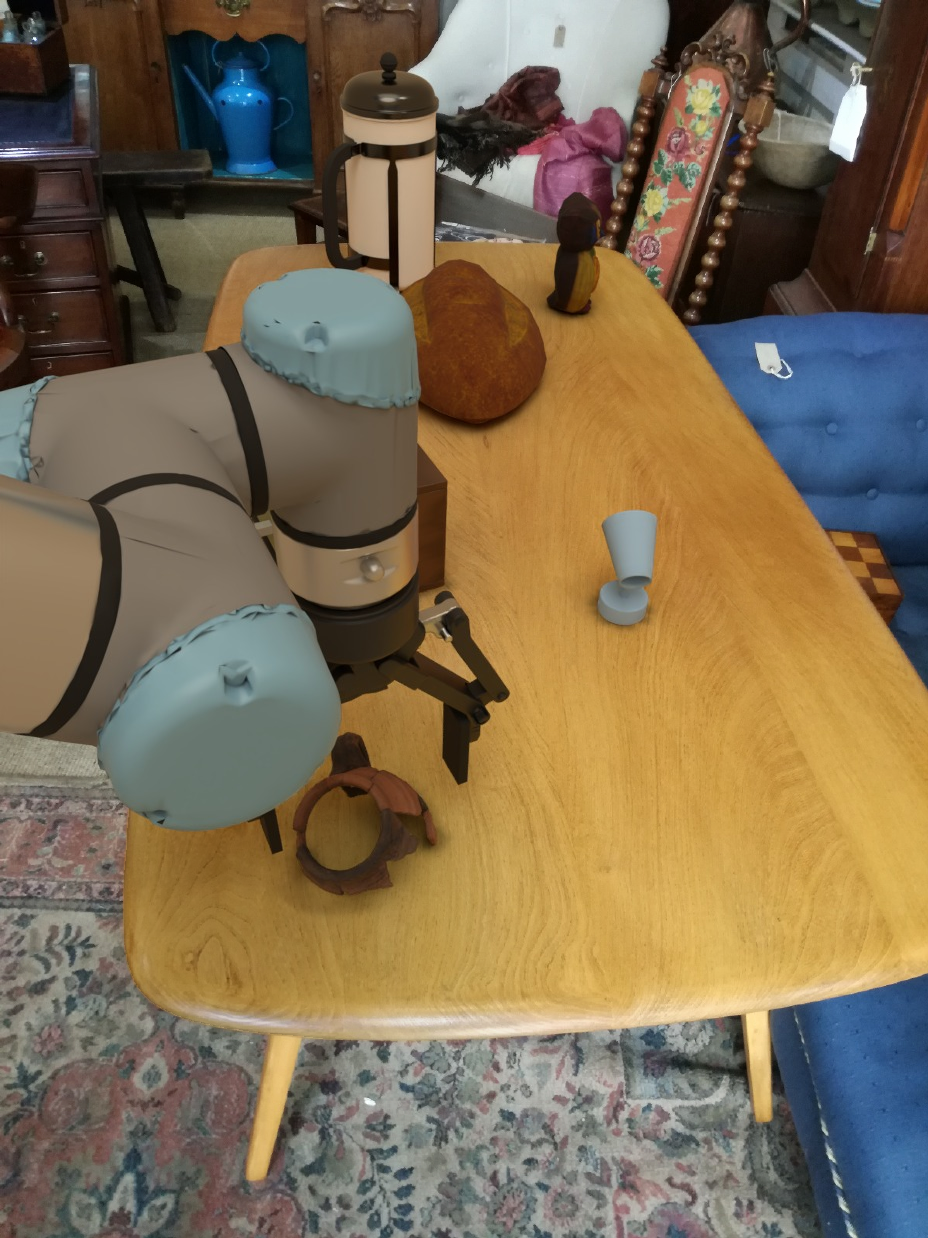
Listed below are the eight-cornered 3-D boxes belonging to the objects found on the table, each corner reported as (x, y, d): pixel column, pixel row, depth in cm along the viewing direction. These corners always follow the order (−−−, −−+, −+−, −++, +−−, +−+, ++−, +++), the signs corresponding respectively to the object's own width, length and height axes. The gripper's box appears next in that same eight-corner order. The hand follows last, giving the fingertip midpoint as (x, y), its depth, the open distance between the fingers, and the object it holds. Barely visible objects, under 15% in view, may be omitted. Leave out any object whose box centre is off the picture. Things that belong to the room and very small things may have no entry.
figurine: (593, 325, 130) (609, 215, 120) (543, 321, 130) (555, 210, 120) (595, 296, 137) (610, 189, 127) (548, 291, 137) (559, 185, 127)
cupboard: (305, 625, 84) (294, 517, 75) (241, 498, 97) (225, 395, 89) (444, 585, 88) (448, 480, 80) (364, 469, 102) (360, 369, 94)
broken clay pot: (464, 876, 66) (424, 858, 59) (347, 930, 67) (294, 919, 60) (410, 729, 72) (367, 696, 65) (303, 781, 73) (250, 755, 66)
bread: (376, 434, 107) (373, 333, 99) (381, 309, 131) (379, 219, 123) (558, 436, 108) (570, 336, 100) (530, 312, 132) (538, 222, 124)
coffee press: (337, 264, 142) (324, 35, 121) (442, 266, 143) (447, 40, 122) (328, 314, 129) (312, 69, 109) (443, 317, 130) (449, 74, 110)
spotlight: (589, 581, 90) (599, 631, 85) (604, 495, 83) (616, 544, 78) (640, 581, 90) (653, 630, 85) (658, 496, 83) (675, 544, 78)
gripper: (127, 685, 44) (201, 915, 58) (583, 550, 52) (548, 781, 67) (98, 588, 49) (173, 823, 63) (520, 479, 57) (500, 709, 71)
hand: (366, 802), depth 65 cm, fingers open, 13 cm apart
